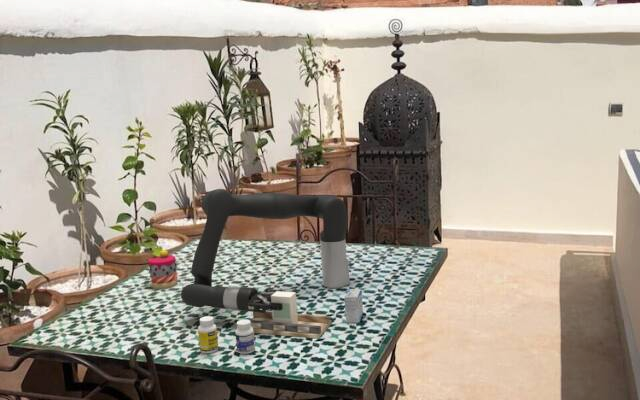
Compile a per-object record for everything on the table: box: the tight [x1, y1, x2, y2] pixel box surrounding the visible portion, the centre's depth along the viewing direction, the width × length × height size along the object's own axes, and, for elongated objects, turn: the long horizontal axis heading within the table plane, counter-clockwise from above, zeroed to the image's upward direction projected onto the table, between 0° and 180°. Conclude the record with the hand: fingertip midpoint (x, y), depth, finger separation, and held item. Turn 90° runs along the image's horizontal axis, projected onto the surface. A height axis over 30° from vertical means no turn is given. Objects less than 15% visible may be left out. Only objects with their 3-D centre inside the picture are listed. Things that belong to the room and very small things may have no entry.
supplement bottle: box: [197, 315, 219, 354], centre depth 197 cm, size 5×5×10 cm
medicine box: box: [344, 288, 364, 324], centre depth 214 cm, size 8×4×9 cm, turn 168°
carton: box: [271, 291, 298, 324], centre depth 210 cm, size 4×6×10 cm
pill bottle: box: [234, 318, 256, 355], centre depth 195 cm, size 5×5×9 cm
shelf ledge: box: [249, 310, 332, 339], centre depth 211 cm, size 26×12×3 cm, turn 70°
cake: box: [147, 245, 179, 290], centre depth 260 cm, size 10×11×15 cm
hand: (287, 302), depth 209 cm, fingers open, 8 cm apart
